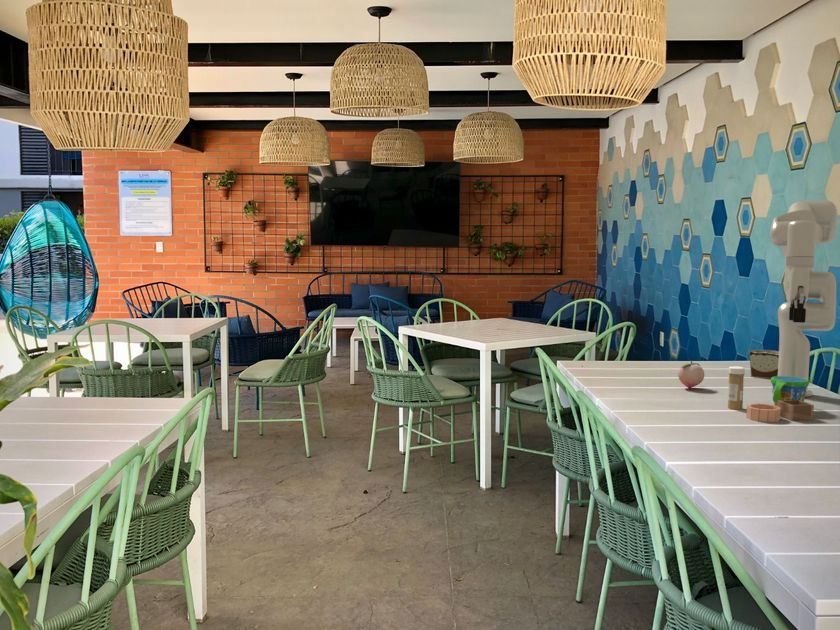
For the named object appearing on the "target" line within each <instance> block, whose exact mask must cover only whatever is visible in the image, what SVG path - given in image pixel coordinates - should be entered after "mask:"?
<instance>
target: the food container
mask: <svg viewBox="0 0 840 630" xmlns="http://www.w3.org/2000/svg"><path fill="white" fill-rule="evenodd" d="M747 356H749V366H750V367H749V368H750V377H752V378H759V377H761V379H770V378H772V377H775V376H778V362H779V350H778V351H777V350H771V349H751V350H749V352H748V354H747Z"/></svg>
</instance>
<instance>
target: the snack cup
mask: <svg viewBox="0 0 840 630" xmlns="http://www.w3.org/2000/svg"><path fill="white" fill-rule="evenodd" d="M770 383H771V384H772V385H771V386H772V389H773V392H772V394H773V395H772V401H773V403H774V404H773V405H775V406H777V403H778V401H781V400H801V401H804V402H805V398H806V397H805V393H806V388H807V386H808V387H809V385H810V381H809V379H808V380H807V379H804V378H799V377H790V376H775V377H772V378H771V379H770Z"/></svg>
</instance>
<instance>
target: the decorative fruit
mask: <svg viewBox="0 0 840 630" xmlns="http://www.w3.org/2000/svg"><path fill="white" fill-rule="evenodd" d="M677 377H678V380H679V381H680V383H682V384H683V385H684V387H686V388H688V389H692V388H693V387H696V386H698V385H700V384H702V382H703V381H704V378H705V370H704V369H703V367H702V366H701V364H699V363H697V362H693V360H690V363H683V364H682V365H681V367H680V368H679V369H678V371H677Z"/></svg>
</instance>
